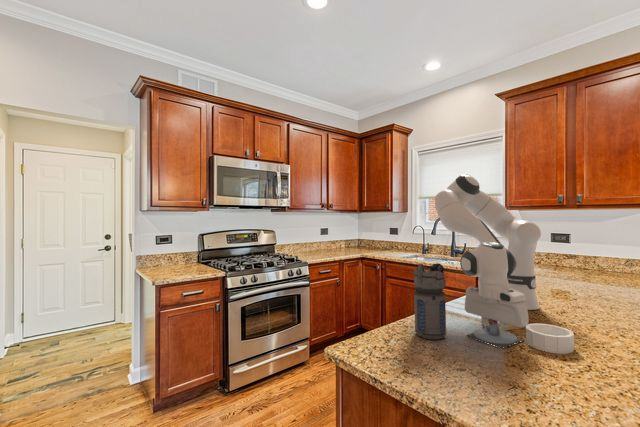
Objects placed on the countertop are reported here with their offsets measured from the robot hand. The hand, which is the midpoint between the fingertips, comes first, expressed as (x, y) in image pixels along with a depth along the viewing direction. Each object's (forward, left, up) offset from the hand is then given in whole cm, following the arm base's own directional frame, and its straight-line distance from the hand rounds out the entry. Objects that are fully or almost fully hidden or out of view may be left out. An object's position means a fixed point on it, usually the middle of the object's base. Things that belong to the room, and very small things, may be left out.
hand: (494, 332), depth 105 cm
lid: (0, 0, -1) cm, 1 cm away
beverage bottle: (-13, -15, -2) cm, 20 cm away
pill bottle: (-9, +11, -2) cm, 14 cm away
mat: (0, 0, -2) cm, 2 cm away
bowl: (+12, +9, -2) cm, 15 cm away
